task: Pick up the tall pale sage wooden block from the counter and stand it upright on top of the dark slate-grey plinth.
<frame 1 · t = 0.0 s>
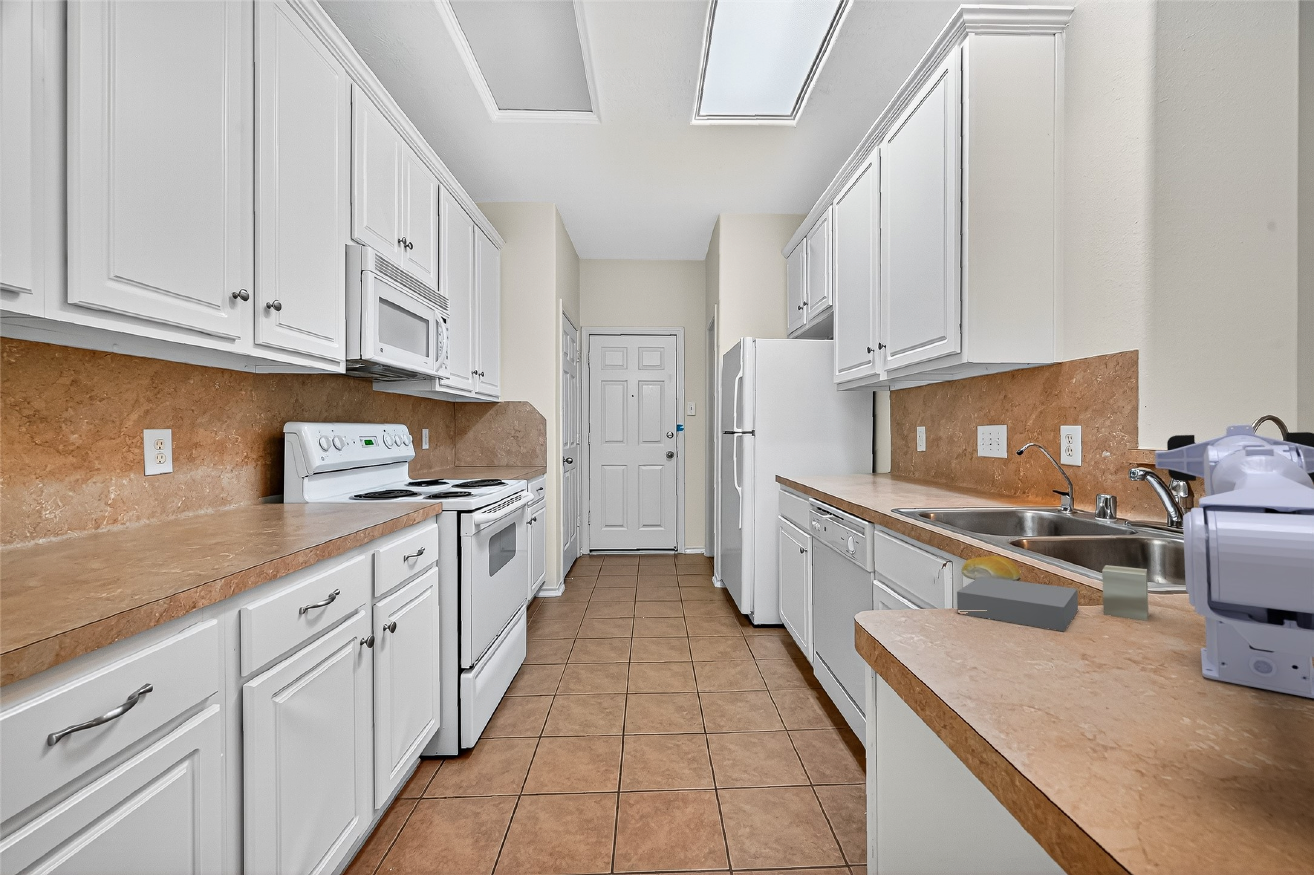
hand: (1235, 451, 70), 22 cm above the worktop, tool horizontal, fingers open, 7 cm apart
slate plinth: (1018, 612, 77), on the worktop
bread roll: (990, 579, 98), on the worktop
sage block: (1126, 614, 75), on the worktop
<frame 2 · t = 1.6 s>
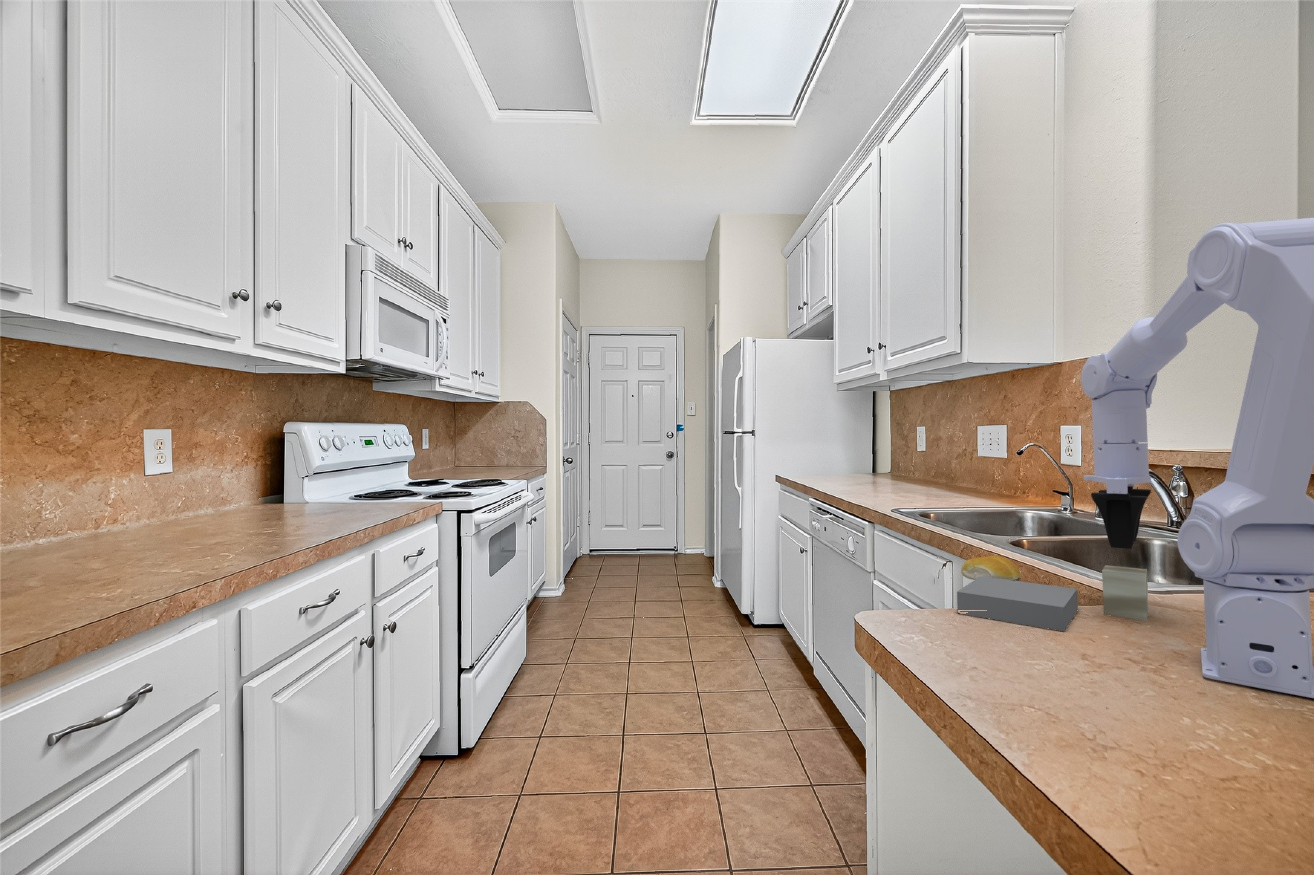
hand: (1123, 544, 76), 9 cm above the worktop, tool pointing down, fingers open, 7 cm apart
nothing on the worktop moved.
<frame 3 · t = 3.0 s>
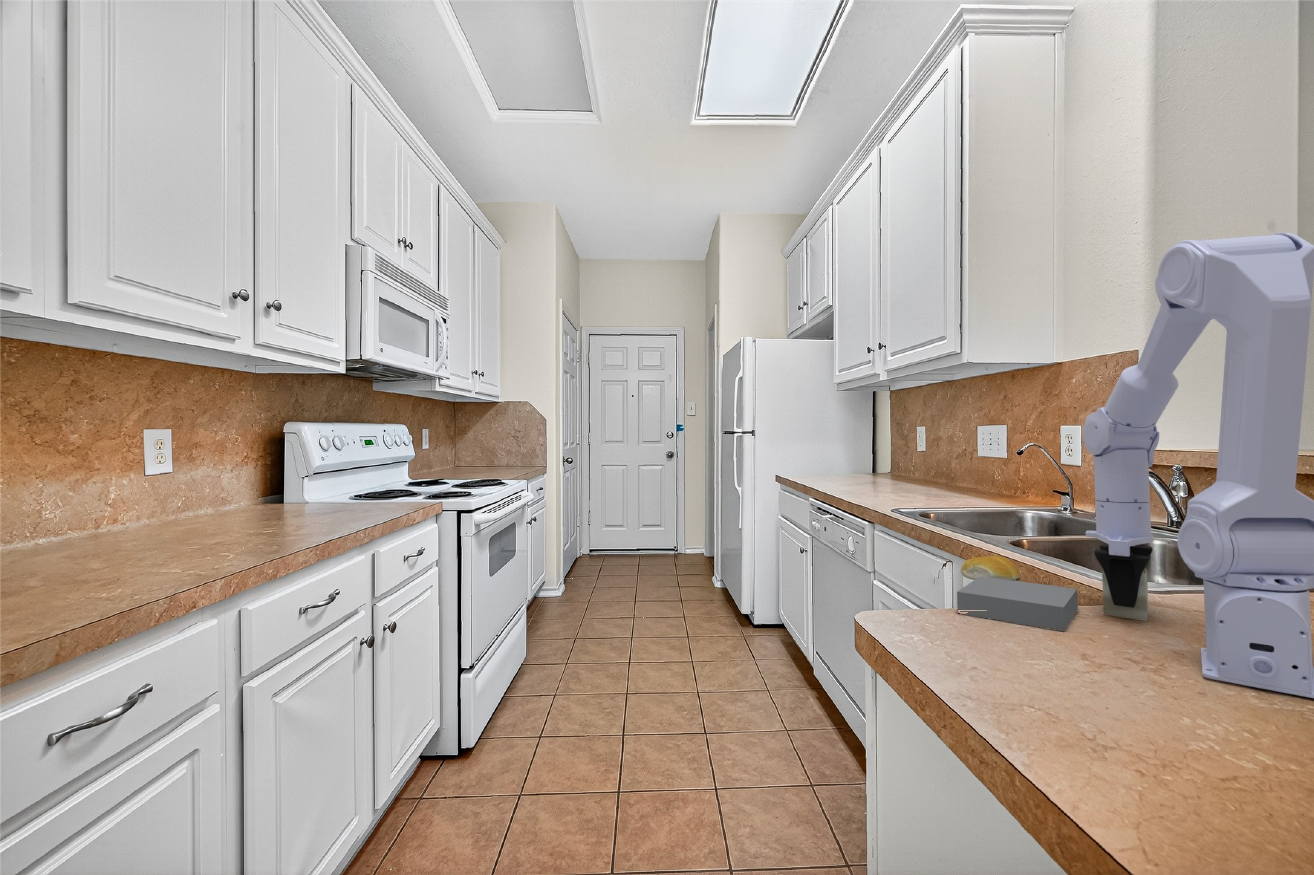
hand: (1125, 601, 75), 2 cm above the worktop, tool pointing down, fingers closed on sage block, 4 cm apart
sage block: (1126, 614, 75), on the worktop, touching gripper
everything else where it was.
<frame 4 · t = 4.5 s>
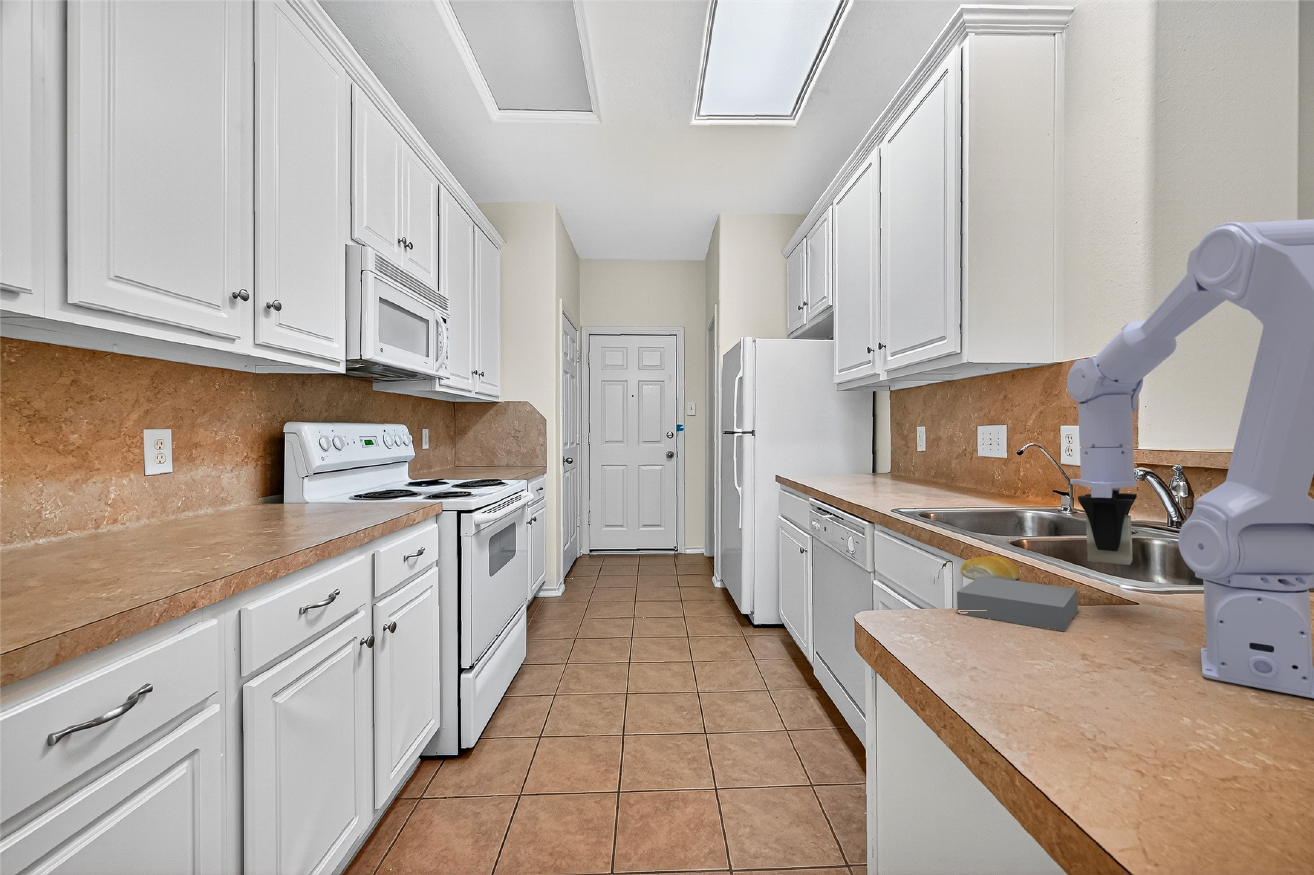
hand: (1109, 547, 76), 9 cm above the worktop, tool pointing down, fingers closed on sage block, 4 cm apart
sage block: (1110, 560, 76), point 7 cm above the worktop, touching gripper
everything else where it was.
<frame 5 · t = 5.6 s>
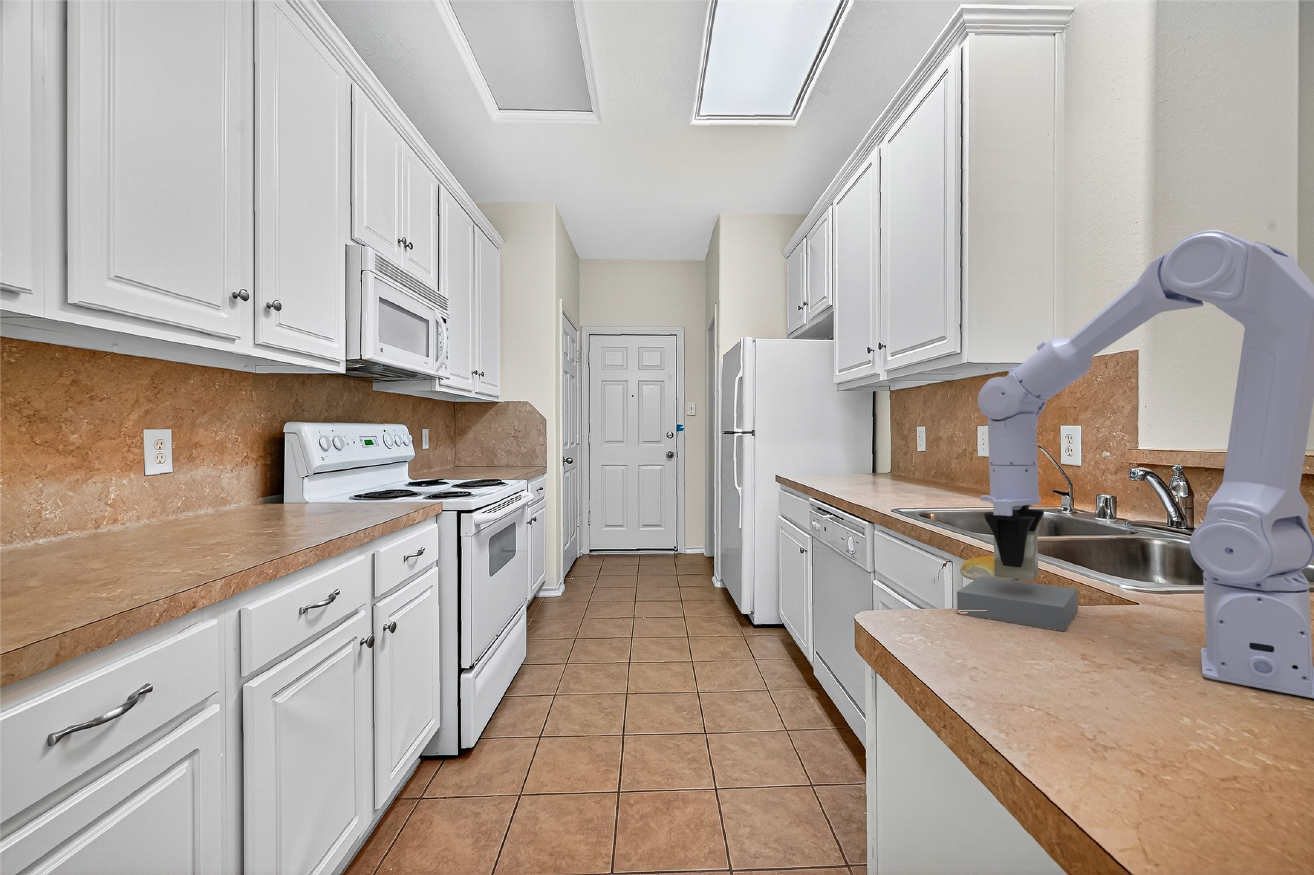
hand: (1016, 563, 77), 7 cm above the worktop, tool pointing down, fingers closed on sage block, 4 cm apart
sage block: (1016, 575, 77), point 5 cm above the worktop, touching gripper
everything else where it was.
when the fingers open (6 cm above the worktop, at t = 6.2 s): sage block stays where it is, resting on slate plinth.
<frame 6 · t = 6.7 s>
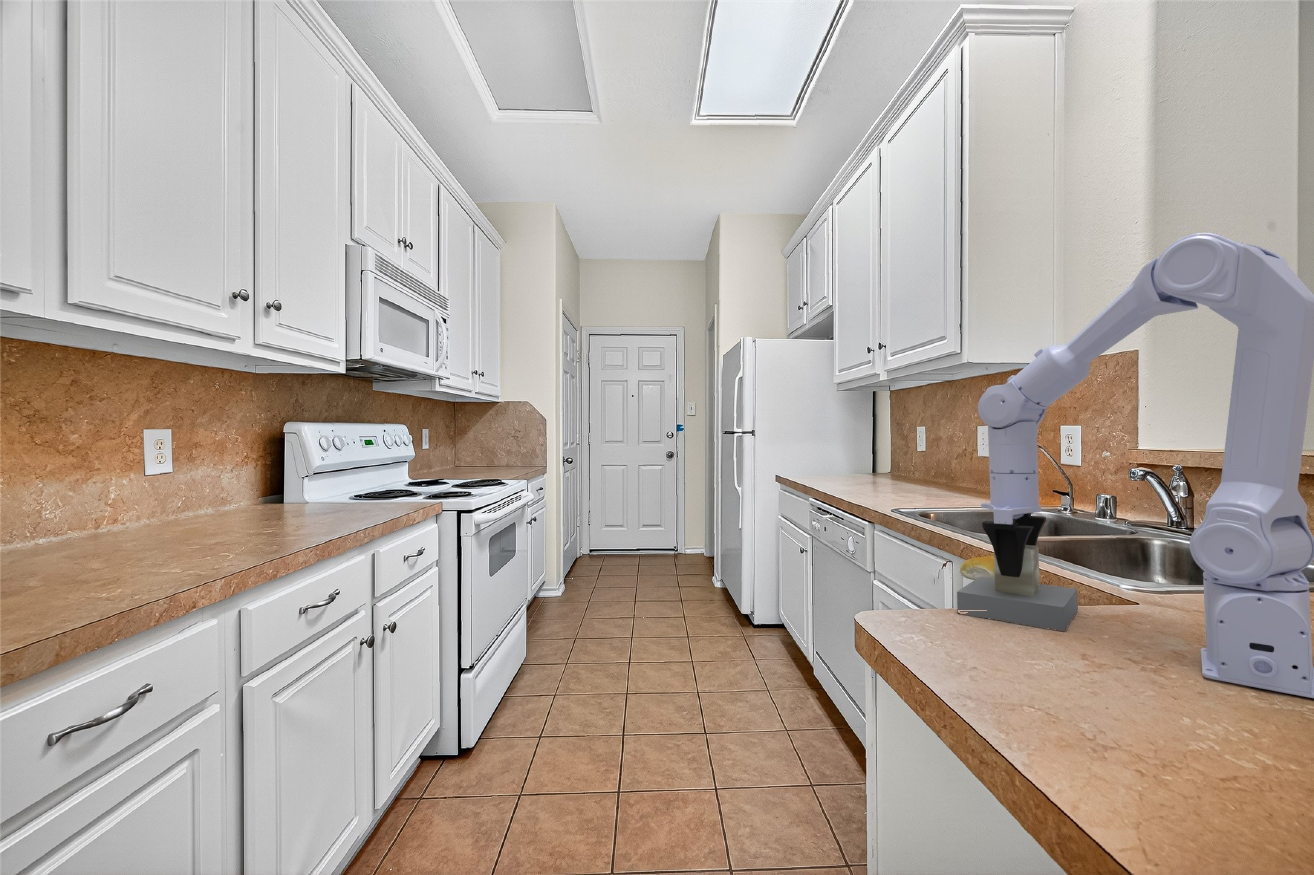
hand: (1016, 571, 77), 6 cm above the worktop, tool pointing down, fingers open, 7 cm apart
sage block: (1017, 590, 77), point 3 cm above the worktop, touching slate plinth
everything else where it was.
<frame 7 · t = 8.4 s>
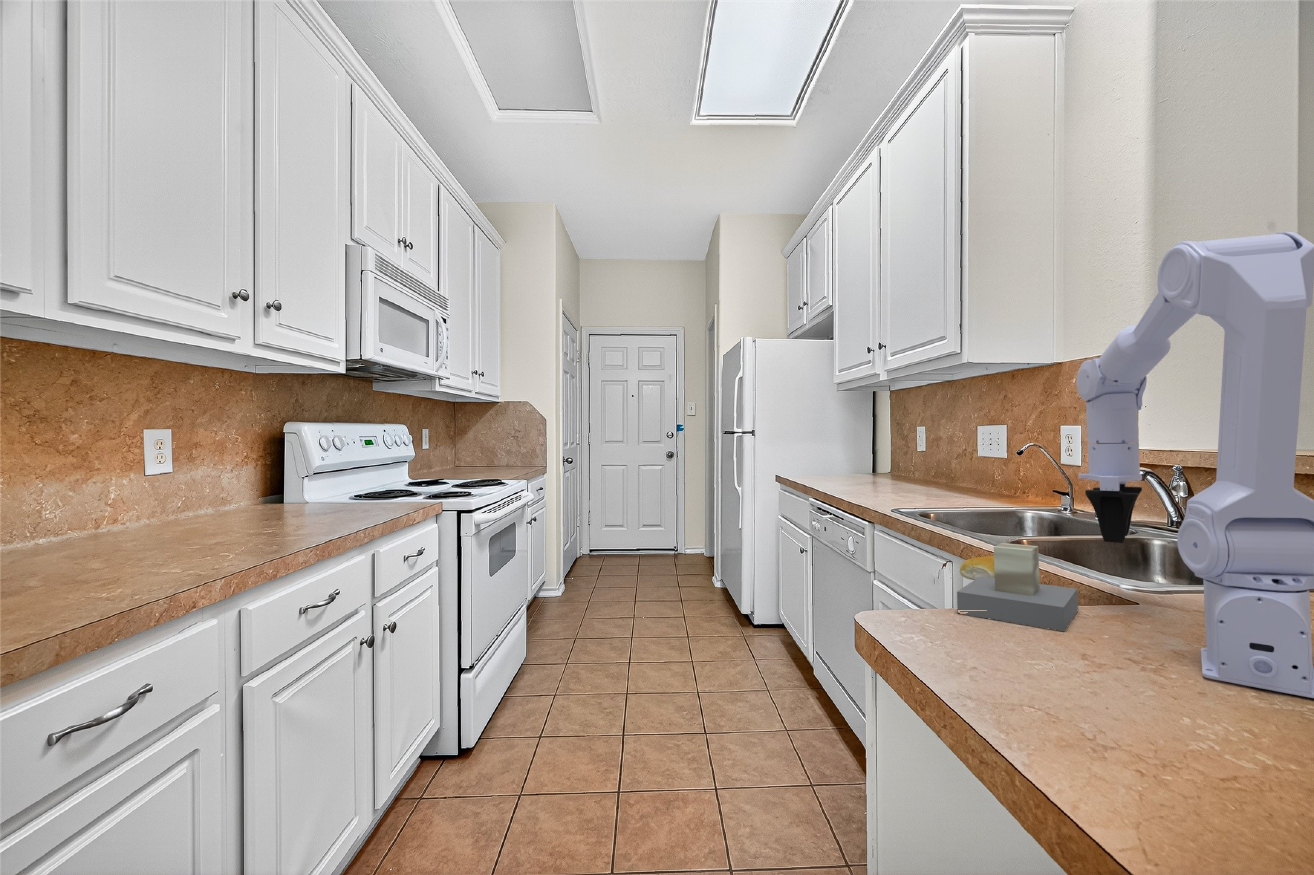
hand: (1116, 538, 80), 9 cm above the worktop, tool pointing down, fingers open, 7 cm apart
nothing on the worktop moved.
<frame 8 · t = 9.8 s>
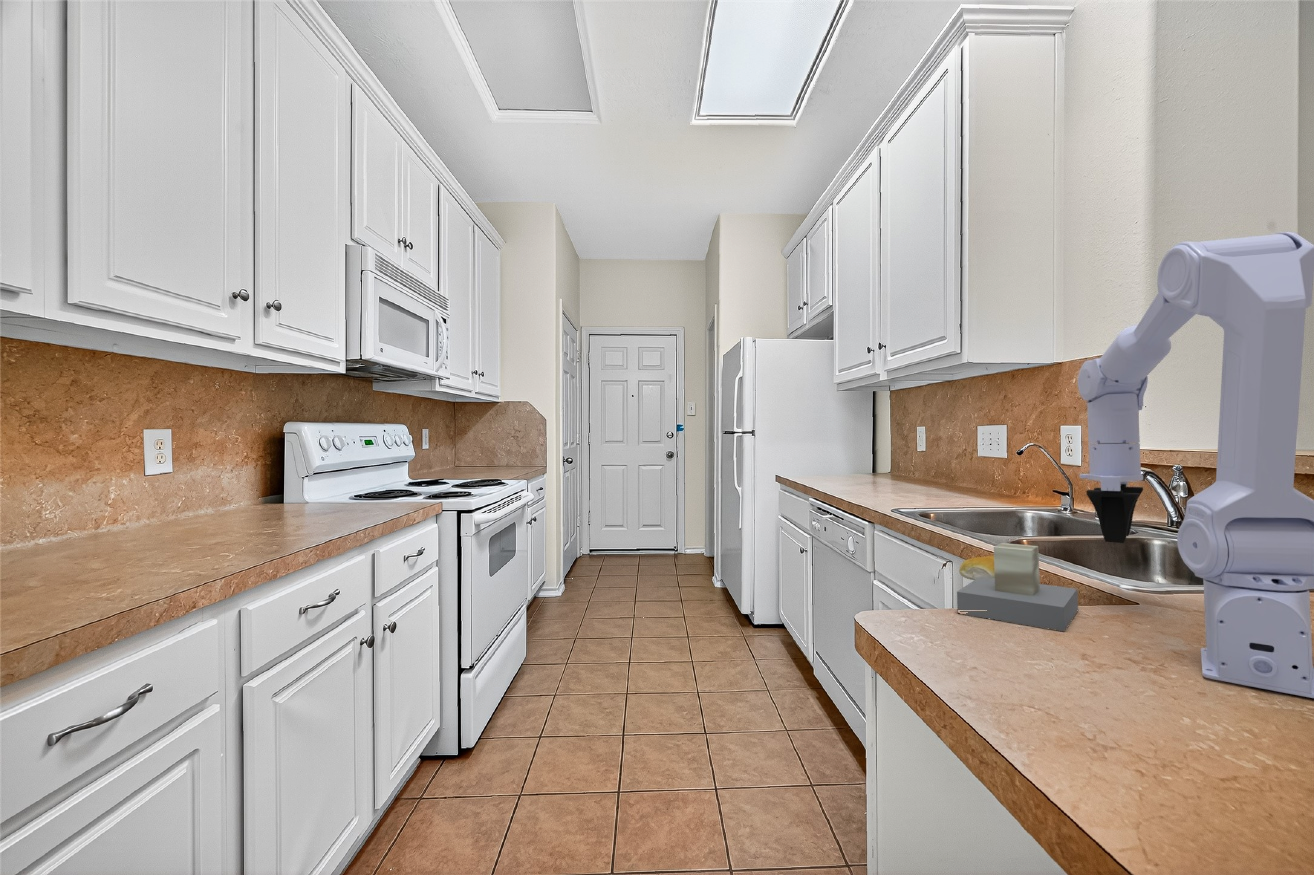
hand: (1117, 538, 80), 9 cm above the worktop, tool pointing down, fingers open, 7 cm apart
nothing on the worktop moved.
at the end: sage block inside the target area on the slate plinth (0.0 cm from its centre), point 3.0 cm above the slate plinth's base; sage block tilted 0°; the gripper is holding nothing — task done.
